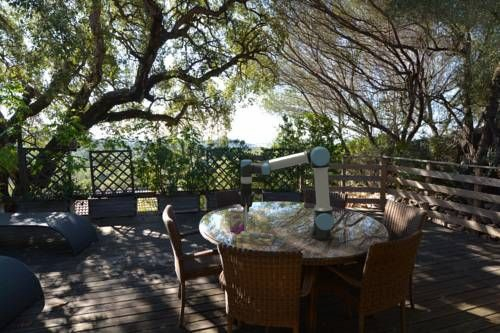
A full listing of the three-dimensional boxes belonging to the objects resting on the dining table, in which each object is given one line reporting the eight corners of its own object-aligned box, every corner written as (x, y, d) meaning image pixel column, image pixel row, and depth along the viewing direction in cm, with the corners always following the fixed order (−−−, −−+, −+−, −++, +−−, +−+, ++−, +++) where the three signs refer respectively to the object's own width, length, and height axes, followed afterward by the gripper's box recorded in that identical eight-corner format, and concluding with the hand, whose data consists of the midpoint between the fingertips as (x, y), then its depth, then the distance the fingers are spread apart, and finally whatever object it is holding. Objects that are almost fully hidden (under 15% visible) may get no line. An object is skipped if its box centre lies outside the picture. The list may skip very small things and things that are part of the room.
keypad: (274, 238, 217) (275, 234, 217) (270, 245, 204) (270, 240, 203) (241, 235, 223) (241, 230, 223) (235, 241, 210) (235, 237, 210)
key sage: (250, 237, 217) (250, 233, 217) (248, 239, 212) (248, 235, 212) (243, 236, 219) (243, 232, 218) (241, 238, 213) (241, 234, 213)
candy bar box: (229, 231, 231) (230, 210, 229) (232, 229, 236) (232, 208, 234) (244, 233, 227) (244, 211, 225) (246, 231, 232) (246, 210, 230)
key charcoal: (270, 239, 213) (270, 235, 213) (268, 241, 208) (268, 237, 208) (262, 238, 215) (262, 234, 215) (260, 241, 210) (261, 236, 209)
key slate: (260, 235, 215) (260, 231, 215) (258, 238, 210) (258, 234, 210) (252, 235, 217) (253, 231, 216) (250, 237, 211) (250, 233, 211)
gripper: (235, 183, 209) (235, 217, 212) (254, 184, 206) (254, 218, 208) (238, 181, 216) (238, 214, 219) (257, 182, 213) (256, 216, 215)
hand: (246, 216), depth 214 cm, fingers closed
